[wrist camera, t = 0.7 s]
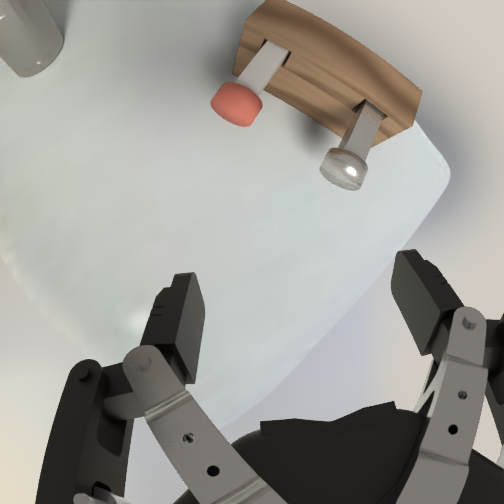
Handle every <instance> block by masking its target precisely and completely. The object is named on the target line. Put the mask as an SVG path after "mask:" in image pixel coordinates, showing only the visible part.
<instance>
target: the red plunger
mask: <svg viewBox="0 0 504 504" xmlns="http://www.w3.org/2000/svg"><path fill="white" fill-rule="evenodd" d="M289 53H290V51H289V50H287V49H285V48H283V47H281V46H279V45H277V44H275V43H273V42H271V41H269V40H268V41H267V42H266V43H265V45H264V46H263V47H262V48H261V49H260V51H259V52H258V53H257V54H256V56H255V57H254V58H253V59H252V61H251V62H250V63H249V64H248V66H247V67H246V68H245V69H244V71H243V72H242V73H241V75H240V76H239V77H238V79H237V80H236V81H235V83H234V82H227V83H224V84H223V85H222V86H221V88H220V89H219V90H218V92H217V93H216V95H215V96H214V97H213V99H212V100H211V106H212V108H213V109H214V111H215V112H216V113H217V114H218V115H219V116H221V117H222V118H223V119H225V120H227V121H228V122H230V123H233V124H235V125H238V126H243V127H247V126H250V125H251V124H252V123H253V121H254V119H255V118H256V116H257V115H258V113H259V112H260V110H261V109H262V102H261V100H260V98H259V95H260V94H261V92H262V91H263V89H264V88H265V86H266V85H267V84H268V82H269V81H270V79H271V78H272V76H273V75H274V74H275V72H276V71H277V69H278V68H279V67H280V65H281V64H282V63H283V61H284V60H285V58H286V57H287V56H288V54H289Z"/></svg>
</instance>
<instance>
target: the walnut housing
mask: <svg viewBox="0 0 504 504" xmlns="http://www.w3.org/2000/svg"><path fill="white" fill-rule="evenodd" d="M268 40H269V41H271V42H273V43H275V44H277V45H279V46H281V47H283V48H285V49H287V50H289V51H290V53H289V54H288V56H287V57H286V58H285V60H284V61H283V63H282V64H281V65H280V67H279V68H278V69H277V71H276V72H275V74H274V75H273V76H272V78H271V79H270V81H269V82H268V84H267V85H266V86H265V88H264V89H263V90H265V91H266V92H268V93H270V94H272V95H274V96H275V97H277V98H279V99H281V100H283V101H284V102H286V103H288V104H289V105H291V106H293V107H294V108H296V109H298V110H299V111H301V112H303V113H304V114H306V115H308V116H309V117H311V118H312V119H314V120H316V121H317V122H319V123H320V124H322V125H323V126H325V127H326V128H328V129H329V130H331V131H332V132H334V133H335V134H337V135H338V136H340V137H341V138H343V136H344V134H345V132H346V130H347V128H348V125H349V123H350V121H351V119H352V117H353V115H354V113H355V111H356V108H357V106H358V104H359V103H360V102H361V101H362V100H364V99H366V100H367V101H369V102H370V103H372V104H373V105H374V106H375V107H377V108H378V109H379V110H381V111H382V112H383V113H384V116H383V118H382V121H381V123H380V126H379V128H378V131H377V133H376V136H375V138H374V141H373V143H372V146H371V148H372V147H373V146H375V145H377V144H379V143H381V142H383V141H385V140H387V139H389V138H391V137H392V136H394V135H396V134H398V133H400V132H402V131H404V130H406V129H408V128H410V127H412V126H413V123H414V119H415V116H416V113H417V109H418V106H419V102H420V99H421V95H422V91H421V90H420V89H419V88H418V87H417V86H416V85H414V83H412V82H411V81H410V80H409V79H407V78H406V77H405V76H404V75H403V74H401V73H400V72H399V71H398V70H397V69H395V68H394V67H393V66H391V65H390V64H389V63H388V62H386V61H385V60H384V59H382V58H381V57H380V56H378V55H377V54H375V53H374V52H373V51H371V50H370V49H368V48H367V47H365V46H364V45H363V44H361V43H360V42H358V41H357V40H355V39H353V38H352V37H351V36H349V35H348V34H346V33H344V32H343V31H341V30H339V29H338V28H336V27H335V26H333V25H331V24H329V23H328V22H326V21H324V20H322V19H321V18H319V17H317V16H315V15H313V14H312V13H310V12H308V11H306V10H304V9H302V8H300V7H298V6H296V5H294V4H292V3H290V2H287V1H286V0H266V1H265V2H264V3H263V4H262V5H261V6H260V7H259V8H257V9H256V10H255V11H254V12H253V13H252V14H251V15H250V16H249V17H248V18H247V19H246V21H245V25H244V28H243V32H242V36H241V40H240V44H239V48H238V52H237V56H236V60H235V64H234V68H233V72H232V74H233V75H236V76H238V77H239V76H240V75H241V73H242V72H243V71H244V69H245V68H246V67H247V66H248V64H249V63H250V62H251V61H252V59H253V58H254V57H255V56H256V54H257V53H258V52H259V51H260V49H261V48H262V47H263V46H264V45H265V43H266V42H267V41H268Z"/></svg>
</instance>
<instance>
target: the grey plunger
mask: <svg viewBox="0 0 504 504" xmlns="http://www.w3.org/2000/svg"><path fill="white" fill-rule="evenodd" d="M383 116H384V113H383V112H382V111H381V110H379V109H378V108H377V107H375V106H374V105H373V104H372V103H370V102H369V101H367V100H366V99H364V100H362V101H361V102H360V103H359V104H358V106H357V108H356V111H355V113H354V115H353V117H352V119H351V121H350V123H349V125H348V128H347V130H346V132H345V134H344V136H343V138H342V140H341V142H340V144H339V146H338V148H331V149H329V150H328V152H327V154H326V156H325V158H324V160H323V162H322V164H321V166H320V172H321V174H322V175H323V176H324V177H325V178H326V179H327V180H328V181H330V182H331V183H333V184H335V185H336V186H338V187H341V188H343V189H347V190H353V191H355V190H359V189H360V188H361V186H362V183H363V181H364V179H365V176H366V174H367V172H368V166H367V164H366V163H365V160H366V157H367V155H368V153H369V150H370V148H371V146H372V143H373V141H374V138H375V136H376V133H377V131H378V128H379V126H380V123H381V121H382V118H383Z"/></svg>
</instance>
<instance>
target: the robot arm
mask: <svg viewBox="0 0 504 504" xmlns="http://www.w3.org/2000/svg"><path fill="white" fill-rule="evenodd" d="M63 42H64V38H63V35H62V33H61V31H60V30H59V28H58V26H57V24H56V23H55V21H54V19H53V17H52V15H51V13H50V12H49V10H48V8H47V6H46V4H45V2H44V1H43V0H0V57H1V58H2V59H3V60H4V61H5V62H6V63H7V64H8V66H9V67H10V68H11V69H12V70H13V71H14V72H15V73H16V74H17V75H19V76H20V77H29V76H32V75H34V74H36V73H38V72H40V71H41V70H43V69H44V68H46V67H47V66H48V65H49V64H50V63H51V62H52V61H53V60H54V59H55V58H56V56H57V55H58V54H59V52H60V50H61V48H62V46H63ZM391 291H392V295H393V297H394V299H395V301H396V303H397V305H398V307H399V309H400V311H401V313H402V315H403V317H404V319H405V321H406V323H407V325H408V328H409V330H410V332H411V334H412V336H413V338H414V340H415V342H416V345H417V347H418V349H419V351H420V354H421V356H424V355H428V354H431V353H432V355H433V360H432V362H431V365H430V368H429V371H428V374H427V377H426V381H425V383H424V387H423V390H422V392H421V395H420V398H419V401H418V402H417V405H416V406H415V408H414V410H413V411H409V410H402V409H396V406H395V403H394V401H392V402H387V403H383V404H379V405H374V406H370V407H365V408H362V409H360V410H358V411H355V412H353V413H351V414H349V415H346V416H344V417H342V418H339V419H337V420H334V421H330V422H326V421H314V420H304V419H285V420H272V421H260V430H257V431H254V432H251V433H249V434H246V435H245V436H243V437H241V438H239V439H238V440H236V441H235V442H233V443H232V444H231V445H230V443H229V442H228V441H227V440H226V439H225V437H224V436H223V435H222V434H221V433H220V431H219V430H218V429H217V428H216V426H215V425H214V424H213V423H212V421H211V420H210V419H209V418H208V416H207V415H206V414H205V413H204V411H203V410H202V409H201V407H200V406H199V405H198V403H197V402H196V401H195V399H194V398H193V397H192V395H191V394H190V393H189V392H188V391H187V390H186V389H185V384H195V380H196V373H197V366H198V359H199V352H200V345H201V339H202V332H203V326H204V319H205V305H204V301H203V297H202V294H201V291H200V287H199V284H198V280H197V277H196V274H195V273H194V272H191V273H180V274H175V275H174V278H173V281H172V284H171V287H166V288H163V289H162V291H161V292H160V293H159V294H158V295H157V296H156V298H155V301H154V304H153V309H152V310H151V313H150V317H149V319H148V321H147V324H146V327H145V330H144V333H143V337H142V340H141V343H140V346H138V347H136V348H134V349H132V350H131V351H130V352H129V353H128V354H127V355H126V356H125V358H124V360H123V362H122V363H118V364H114V365H110V366H106V367H101V366H100V364H99V363H98V362H97V361H95V360H92V359H86V360H83V361H80V362H79V363H77V364H76V365H75V366H74V367H73V368H72V369H71V371H70V373H69V376H68V379H67V381H66V384H65V387H64V390H63V393H62V396H61V399H60V402H59V405H58V409H57V412H56V415H55V418H54V422H53V425H52V429H51V432H50V436H49V440H48V444H47V448H46V452H45V456H44V460H43V465H42V469H41V474H40V479H39V484H38V490H37V495H36V502H35V504H130V503H129V502H128V501H127V500H126V499H124V491H125V482H126V472H127V465H128V456H129V449H130V443H131V435H132V429H133V423H134V418H138V417H143V416H144V417H145V420H146V421H147V424H148V425H149V427H150V429H151V431H152V432H153V434H154V436H155V438H156V439H157V441H158V443H159V444H160V446H161V447H162V449H163V451H164V452H165V454H166V455H167V457H168V459H169V460H170V462H171V463H172V465H173V466H174V468H175V469H176V470H177V472H178V474H179V475H180V476H181V478H182V479H183V481H184V482H185V484H186V485H187V486H188V488H189V489H188V490H187V491H186V492H185V493H184V494H183V495H182V496H181V497H180V498H178V500H176V501H175V502H174V503H173V504H504V314H503V315H502V317H501V319H500V320H489V319H487V320H486V319H485V318H484V316H483V315H482V314H481V313H480V312H479V311H478V310H476V309H474V308H472V307H465V306H464V305H463V303H462V302H461V300H460V299H459V297H458V296H457V295H456V293H455V292H454V290H453V289H452V288H451V286H450V284H448V283H447V280H446V279H445V278H444V277H443V275H442V273H441V272H440V271H439V269H438V268H437V267H436V266H434V265H433V264H432V263H430V262H429V261H428V260H424V259H423V258H422V257H421V255H420V254H419V253H418V251H417V250H415V249H412V250H403V251H398V252H397V254H396V258H395V263H394V269H393V275H392V279H391ZM484 395H485V396H486V398H487V401H488V404H489V406H490V409H491V412H492V415H493V418H494V421H495V424H496V427H497V430H498V433H499V437H500V440H501V444H502V449H501V452H500V457H499V458H498V460H497V464H495V463H494V462H492V461H491V460H489V459H488V458H486V457H485V456H483V455H481V454H480V453H478V452H477V451H475V450H474V449H472V446H473V443H474V440H475V436H476V432H477V428H478V423H479V420H480V415H481V411H482V405H483V401H484Z"/></svg>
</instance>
